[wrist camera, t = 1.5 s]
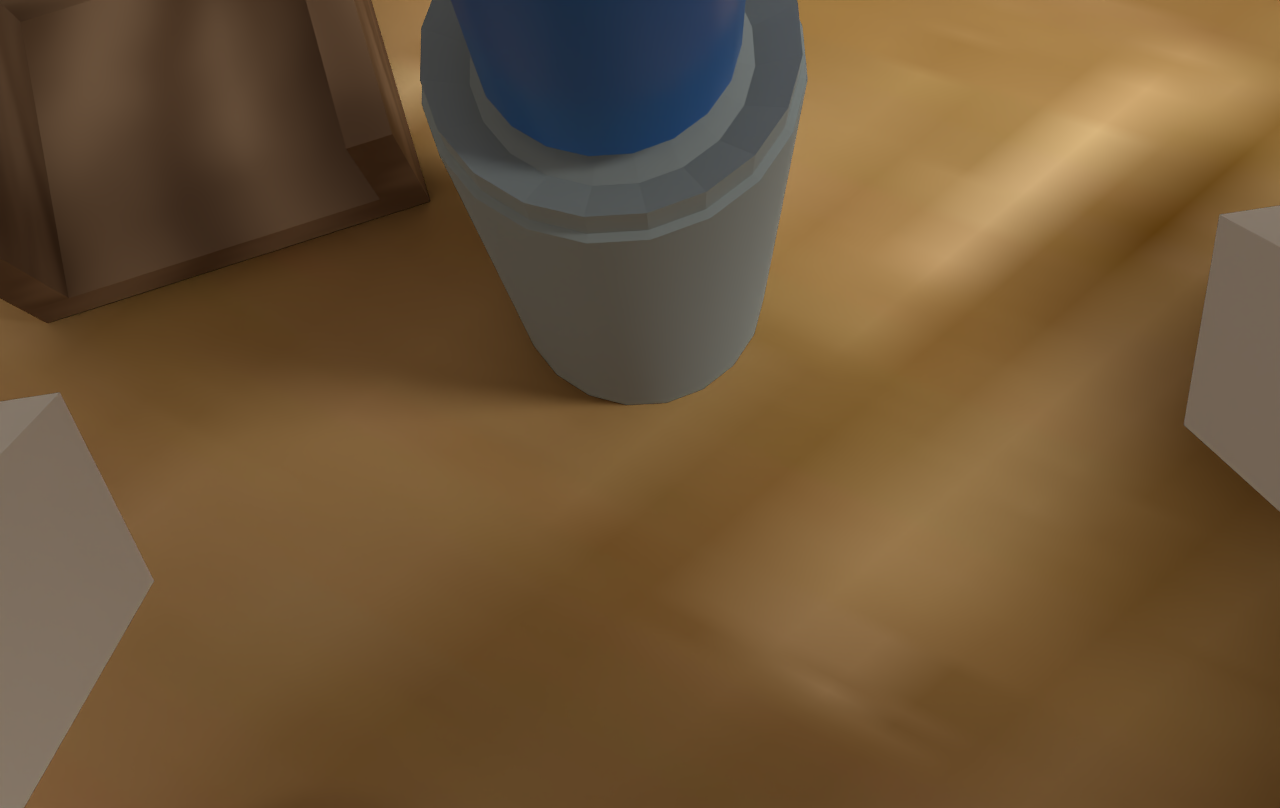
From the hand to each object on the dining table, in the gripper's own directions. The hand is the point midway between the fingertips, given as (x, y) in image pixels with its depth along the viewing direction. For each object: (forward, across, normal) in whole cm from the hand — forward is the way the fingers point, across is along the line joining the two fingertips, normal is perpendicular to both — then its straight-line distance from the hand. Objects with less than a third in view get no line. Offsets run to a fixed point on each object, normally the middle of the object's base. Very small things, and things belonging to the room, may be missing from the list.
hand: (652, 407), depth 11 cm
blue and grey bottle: (+23, 0, -8) cm, 25 cm away
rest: (+30, -16, -1) cm, 34 cm away
